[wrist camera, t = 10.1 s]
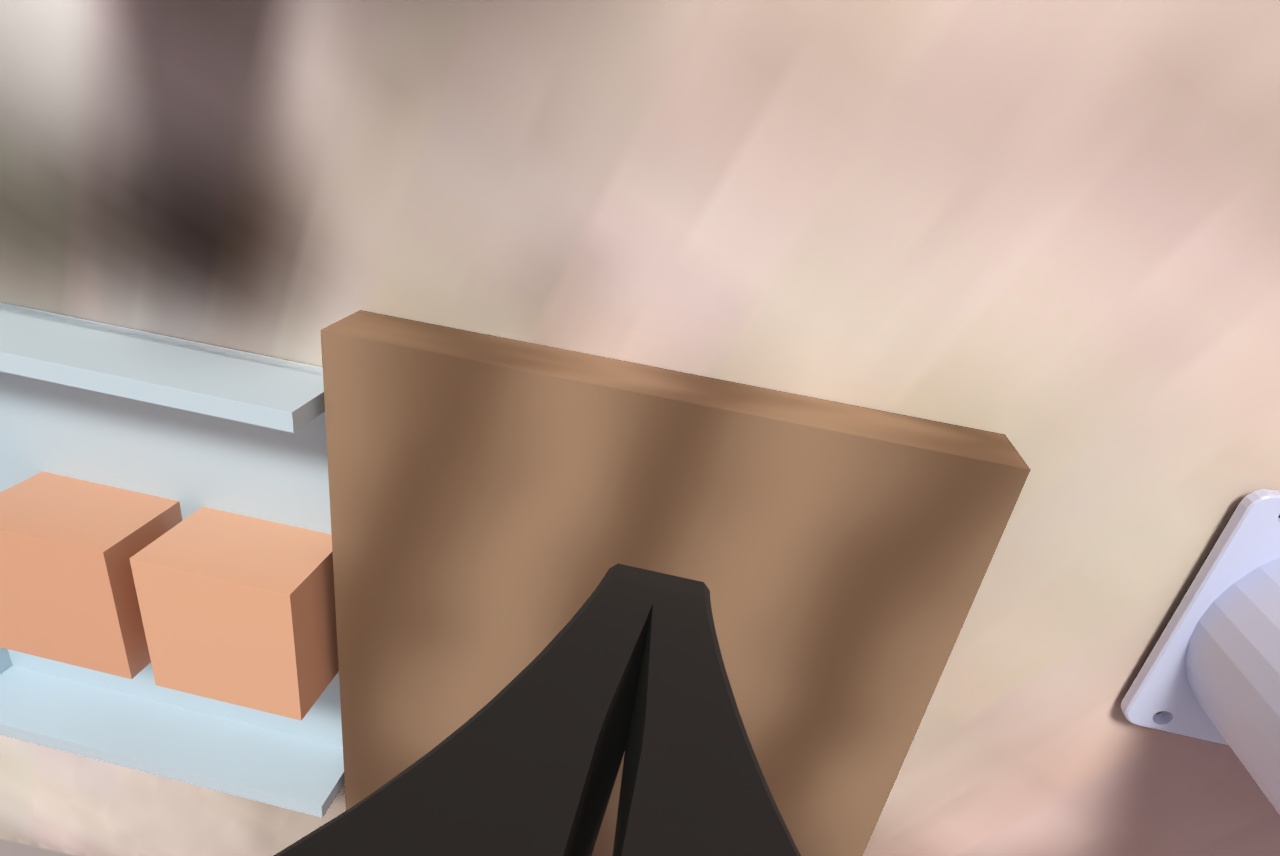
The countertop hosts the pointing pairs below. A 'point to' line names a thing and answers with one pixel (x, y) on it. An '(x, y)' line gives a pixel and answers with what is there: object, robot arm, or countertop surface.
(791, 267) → the countertop surface
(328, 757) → the tray
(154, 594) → the tile
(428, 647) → the board
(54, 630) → the tile
